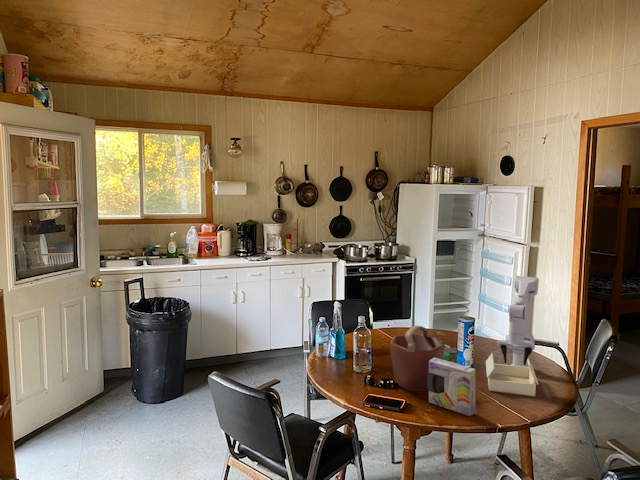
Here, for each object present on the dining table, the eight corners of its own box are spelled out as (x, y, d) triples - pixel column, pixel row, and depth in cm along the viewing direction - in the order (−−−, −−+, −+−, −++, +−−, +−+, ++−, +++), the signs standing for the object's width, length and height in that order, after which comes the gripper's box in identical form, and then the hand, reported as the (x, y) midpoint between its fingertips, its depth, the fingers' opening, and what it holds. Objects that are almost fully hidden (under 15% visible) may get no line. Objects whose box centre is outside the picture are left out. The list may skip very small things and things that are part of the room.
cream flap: (537, 384, 201) (538, 384, 201) (531, 373, 202) (532, 373, 201) (531, 367, 220) (532, 366, 220) (526, 357, 221) (527, 356, 220)
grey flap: (486, 362, 226) (485, 361, 226) (492, 353, 225) (491, 353, 225) (488, 378, 207) (486, 377, 207) (494, 369, 206) (493, 368, 206)
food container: (430, 361, 241) (430, 341, 239) (440, 360, 243) (441, 340, 242) (445, 370, 229) (445, 349, 228) (456, 369, 231) (457, 348, 230)
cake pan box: (425, 401, 197) (426, 358, 195) (432, 397, 200) (433, 355, 198) (469, 418, 183) (471, 372, 181) (475, 413, 187) (478, 368, 185)
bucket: (419, 399, 198) (422, 339, 195) (375, 383, 213) (377, 327, 210) (450, 382, 216) (453, 326, 213) (408, 368, 231) (409, 316, 228)
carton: (487, 373, 226) (487, 362, 226) (529, 378, 221) (530, 367, 221) (488, 390, 207) (489, 379, 207) (535, 396, 202) (535, 384, 202)
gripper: (499, 333, 208) (497, 364, 209) (536, 337, 204) (534, 368, 205) (498, 328, 214) (496, 359, 216) (534, 332, 210) (532, 362, 212)
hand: (514, 363), depth 211 cm, fingers open, 7 cm apart
